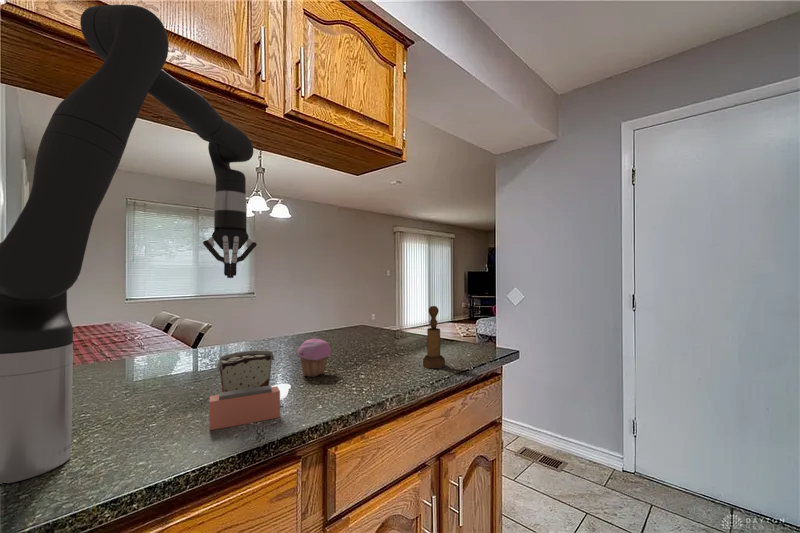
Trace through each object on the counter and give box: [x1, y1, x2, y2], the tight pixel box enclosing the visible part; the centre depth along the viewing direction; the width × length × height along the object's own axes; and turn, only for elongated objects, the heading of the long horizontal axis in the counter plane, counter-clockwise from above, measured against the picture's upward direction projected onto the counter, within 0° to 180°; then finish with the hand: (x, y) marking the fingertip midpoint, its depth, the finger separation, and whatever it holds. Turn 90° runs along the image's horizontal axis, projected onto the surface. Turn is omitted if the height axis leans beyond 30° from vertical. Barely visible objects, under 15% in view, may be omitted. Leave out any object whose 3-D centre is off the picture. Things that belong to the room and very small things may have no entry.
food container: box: [215, 350, 275, 392], centre depth 78 cm, size 12×6×10 cm, turn 139°
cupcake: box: [297, 337, 332, 378], centre depth 96 cm, size 9×9×10 cm
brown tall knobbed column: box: [422, 305, 446, 369], centre depth 105 cm, size 7×6×18 cm
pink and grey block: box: [208, 384, 281, 431], centre depth 66 cm, size 12×4×6 cm, turn 118°
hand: (230, 277), depth 90 cm, fingers closed
